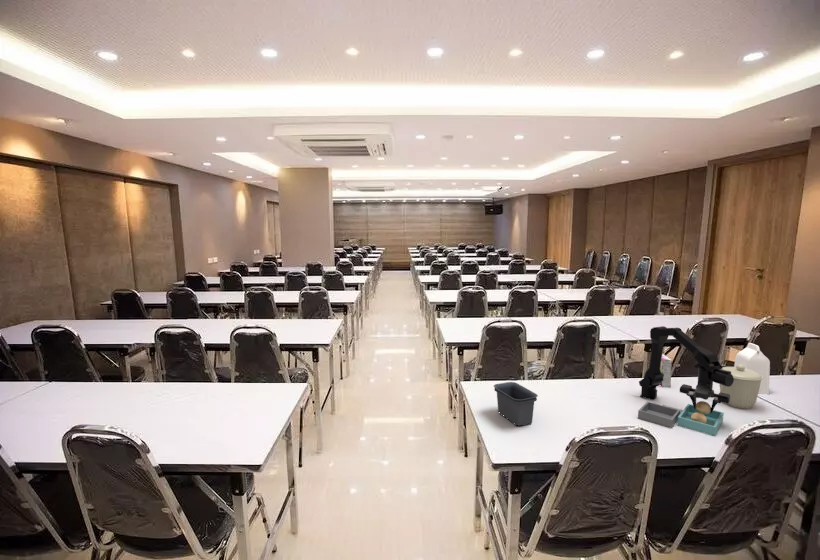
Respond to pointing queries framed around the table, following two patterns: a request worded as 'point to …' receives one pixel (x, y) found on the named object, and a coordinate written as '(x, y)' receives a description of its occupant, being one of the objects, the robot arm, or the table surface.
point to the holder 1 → (659, 414)
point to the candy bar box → (666, 371)
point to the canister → (742, 387)
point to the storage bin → (515, 402)
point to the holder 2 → (709, 428)
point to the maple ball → (703, 407)
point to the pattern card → (674, 408)
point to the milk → (755, 364)
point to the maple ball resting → (699, 417)
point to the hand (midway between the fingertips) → (703, 410)
